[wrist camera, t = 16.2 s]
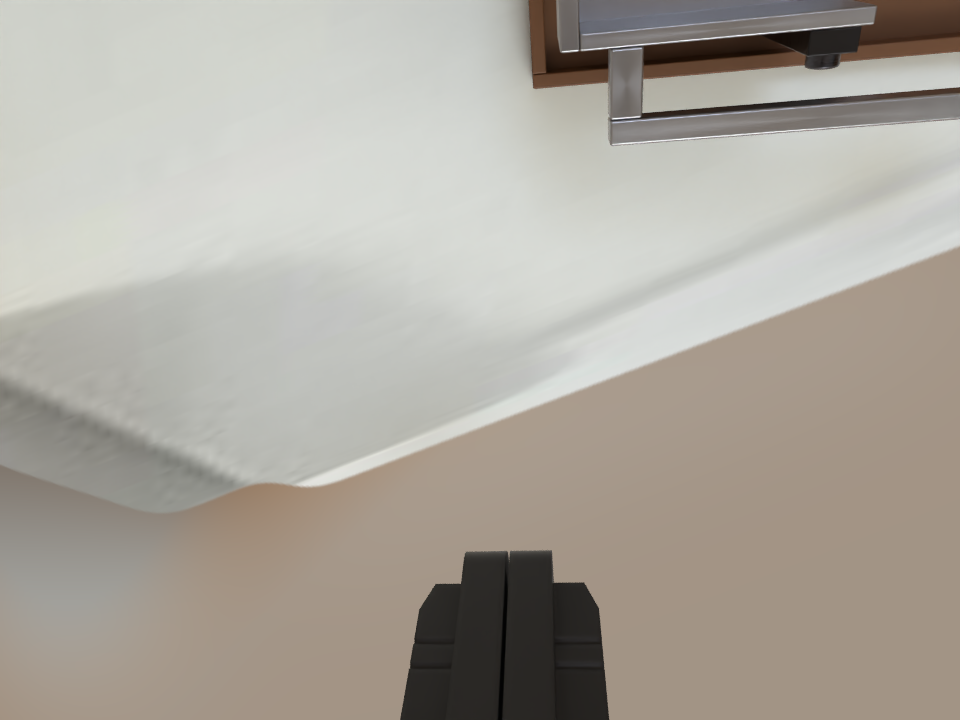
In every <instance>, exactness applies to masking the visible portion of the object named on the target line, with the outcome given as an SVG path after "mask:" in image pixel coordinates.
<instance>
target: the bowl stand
mask: <svg viewBox="0 0 960 720" xmlns="http://www.w3.org/2000/svg"><path fill="white" fill-rule="evenodd" d="M861 29H862V27H861V26H850V27H840V28H829V29H818V30H807V31H796V32H786V33H775V34H764V35H761V36H763V37H766V38H768V39H770V40H772V41H774V42H777V43H779V44H781V45H783V46H785V47H788V48H790V49H792V50H794V51H796V52H799V53H801V54H803V55H805V56H806V57H805V64H804V65H805V67H806V68H808V69H815V70H824V69H832V68H835V67H838V66H839V64H840V59H841V54H846V53H856V52H857V51H858V46H859V40H860V34H861Z"/></svg>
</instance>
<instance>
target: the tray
mask: <svg viewBox="0 0 960 720" xmlns="http://www.w3.org/2000/svg"><path fill="white" fill-rule="evenodd" d="M854 1H859V2H863V3H868V4H873V5H876V6H877V12H876V17H875V22H874V24H872V25H861V27H862V29H861V34H860V40H859V46H858V51H857V52H856V53H846V54H841V59H840V62H846V61H858V60H869V59H881V58H892V57H903V56H915V55H926V54H938V53H949V52H960V0H854ZM529 15H530V34H531V54H532V73H533V88H534V89H538V88H550V87H561V86H573V85H584V84H595V83H607V82H608V49H602V50H591V51H580V50H579V51H578V52H569V53H561V52H560V48H559V43H558V37H557V11H556V0H529ZM643 48H644V65H643V79H653V78H664V77H675V76H687V75H698V74H710V73H721V72H732V71H744V70H755V69H767V68H778V67H789V66H801V65H804V64H805V57H806V56H805V55H803V54H801V53H799V52H796V51H794V50H792V49H790V48H788V47H785V46H783V45H781V44H779V43H777V42H774V41H772V40H770V39H768V38H766V37H763V36H761V35H753V36H742V37H732V38H721V39H710V40H699V41H688V42H678V43H667V44H656V45H645V46H643Z"/></svg>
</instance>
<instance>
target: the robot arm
mask: <svg viewBox="0 0 960 720" xmlns="http://www.w3.org/2000/svg"><path fill="white" fill-rule="evenodd" d="M509 559H510V560H509ZM552 563H553V562H552V551H510V558H509V557H508V552H507V551H497V552H496V551H491V552H466V553H465V557H464V564H463V572H462V581H461V584H436V585H435V586H434V588H433V589H432V591H431V592H430V594H429V595H428V597H427V599H426V600H425V602H424V603H423V605H422V607H421V608H420V609H419V615H418V621H417V627H416V633H415V638H414V639H415V643H414V645H413V650H412V655H411V661H410V669H409V673H408V678H407V684H406V690H405V696H404V702H403V707H402V713H401V719H400V720H609V714H608V703H607V692H606V681H605V670H604V661H603V649H602V637H601V628H600V627H601V626H600V616H599V608H598V606H597V604H596V603H595V601H594V599H593V597H592V596H591V594H590V593H589V591H588V589H587V587H586V585H585V584H584V583H554V581H553V580H554V579H553V564H552Z"/></svg>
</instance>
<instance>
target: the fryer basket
mask: <svg viewBox="0 0 960 720" xmlns="http://www.w3.org/2000/svg"><path fill="white" fill-rule="evenodd" d="M556 11H557V37H558V43H559V48H560V52H561V53H569V52H578V51H579V50H580V51H591V50H602V49H608V114H609V118H608V139H609V142H610V145H612V146H617V145H630V144H643V143H656V142H669V141H682V140H695V139H708V138H721V137H734V136H747V135H760V134H773V133H786V132H799V131H812V130H825V129H838V128H851V127H864V126H877V125H890V124H903V123H916V122H929V121H942V120H955V119H960V87H959V88H946V89H934V90H922V91H910V92H897V93H885V94H873V95H861V96H848V97H836V98H824V99H812V100H800V101H787V102H775V103H763V104H751V105H738V106H726V107H714V108H702V109H689V110H677V111H665V112H653V113H642V102H643V65H644V48H643V46H645V45H656V44H667V43H678V42H688V41H699V40H710V39H721V38H732V37H742V36H753V35H764V34H775V33H786V32H796V31H807V30H818V29H829V28H840V27H850V26H861V25H872V24H874V22H875V17H876V12H877V6H876V5H873V4H868V3H863V2H859V1H854V0H556Z"/></svg>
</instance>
